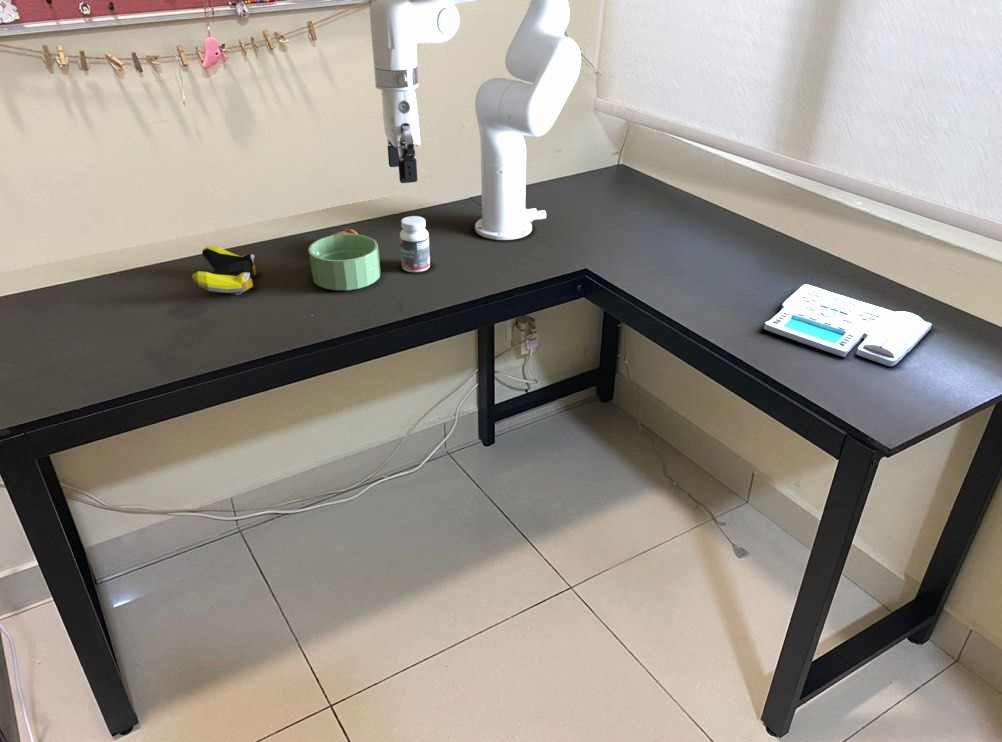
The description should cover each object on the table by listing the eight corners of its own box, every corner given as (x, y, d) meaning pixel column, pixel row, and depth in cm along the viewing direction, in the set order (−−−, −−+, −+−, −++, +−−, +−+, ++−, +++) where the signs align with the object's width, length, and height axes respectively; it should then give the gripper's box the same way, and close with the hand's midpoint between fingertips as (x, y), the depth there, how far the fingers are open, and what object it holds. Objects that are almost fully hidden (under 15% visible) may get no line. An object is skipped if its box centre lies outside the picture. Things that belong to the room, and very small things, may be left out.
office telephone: (935, 316, 139) (896, 361, 126) (930, 329, 140) (892, 375, 127) (806, 277, 151) (759, 314, 138) (803, 289, 152) (757, 328, 140)
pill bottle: (396, 267, 160) (392, 220, 155) (417, 259, 164) (414, 212, 158) (415, 275, 157) (411, 228, 151) (436, 267, 160) (433, 219, 155)
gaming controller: (195, 303, 147) (251, 300, 148) (188, 276, 144) (245, 272, 145) (208, 269, 159) (259, 266, 160) (202, 243, 156) (254, 240, 157)
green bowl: (373, 260, 163) (370, 230, 159) (386, 287, 153) (383, 255, 149) (309, 269, 159) (304, 238, 156) (318, 297, 149) (313, 264, 146)
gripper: (429, 87, 134) (433, 186, 144) (406, 66, 148) (412, 158, 158) (385, 90, 132) (392, 190, 142) (366, 68, 146) (374, 162, 156)
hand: (402, 173), depth 150 cm, fingers open, 9 cm apart
